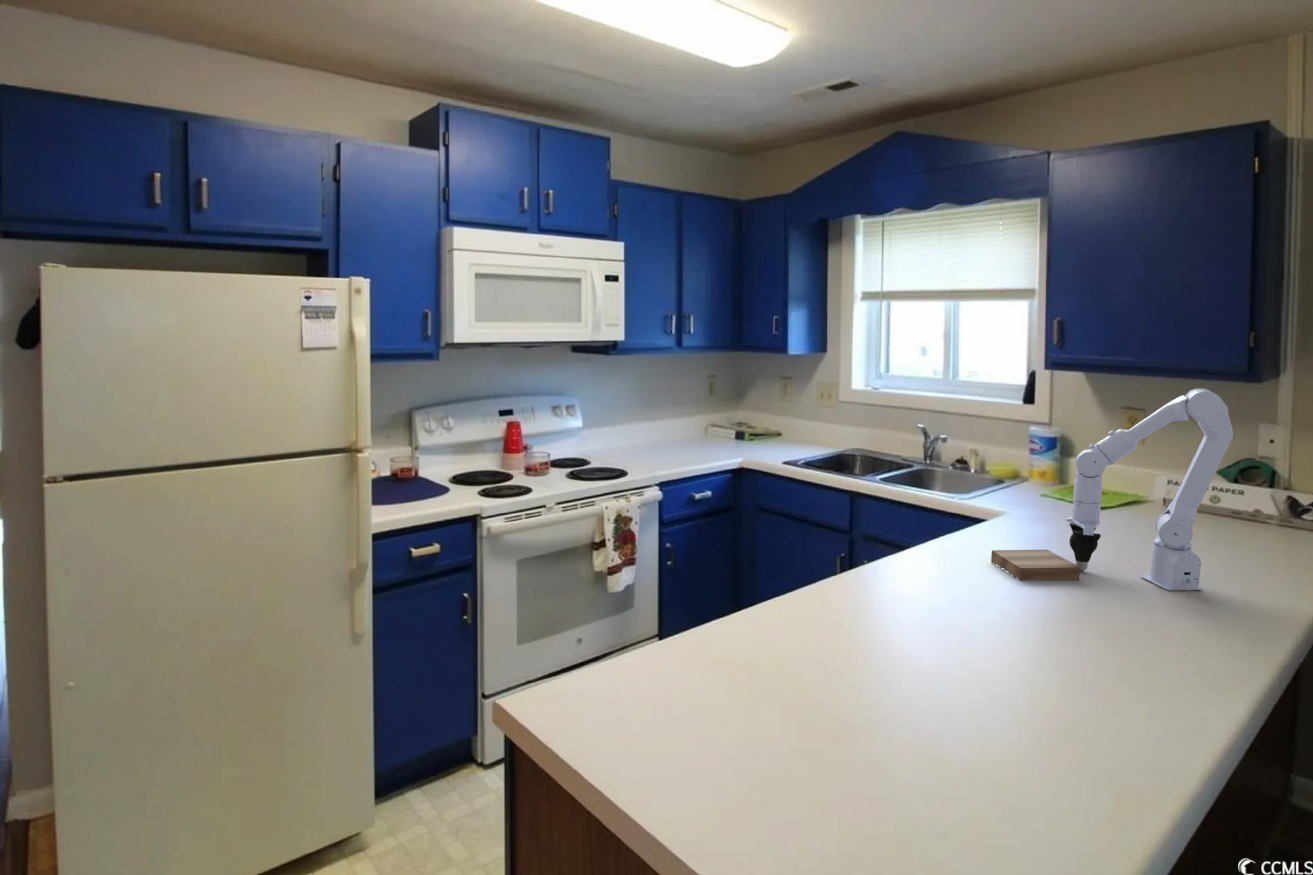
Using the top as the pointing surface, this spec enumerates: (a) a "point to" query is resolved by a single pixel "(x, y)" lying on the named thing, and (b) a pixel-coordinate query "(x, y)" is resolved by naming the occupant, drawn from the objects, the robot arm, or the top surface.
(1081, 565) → the light bulb
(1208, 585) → the top surface
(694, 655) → the top surface
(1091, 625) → the top surface
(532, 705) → the top surface
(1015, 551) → the walnut plinth
